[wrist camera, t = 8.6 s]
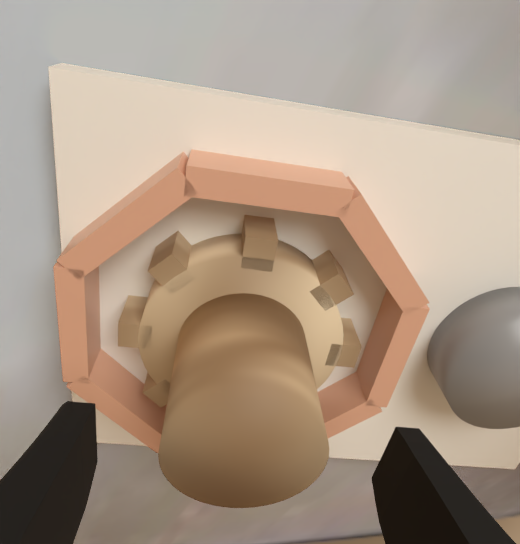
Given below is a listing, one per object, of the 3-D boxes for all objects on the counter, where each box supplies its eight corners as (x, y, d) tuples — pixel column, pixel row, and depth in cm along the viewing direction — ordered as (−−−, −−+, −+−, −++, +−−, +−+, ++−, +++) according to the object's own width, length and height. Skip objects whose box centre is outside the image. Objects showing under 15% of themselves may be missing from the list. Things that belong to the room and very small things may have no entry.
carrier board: (693, 169, 14) (788, 201, 12) (503, 450, 21) (538, 507, 19) (62, 63, 12) (17, 75, 9) (82, 421, 19) (59, 482, 16)
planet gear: (379, 232, 14) (457, 348, 9) (322, 404, 17) (355, 550, 13) (130, 199, 13) (67, 310, 8) (127, 388, 16) (83, 540, 12)
